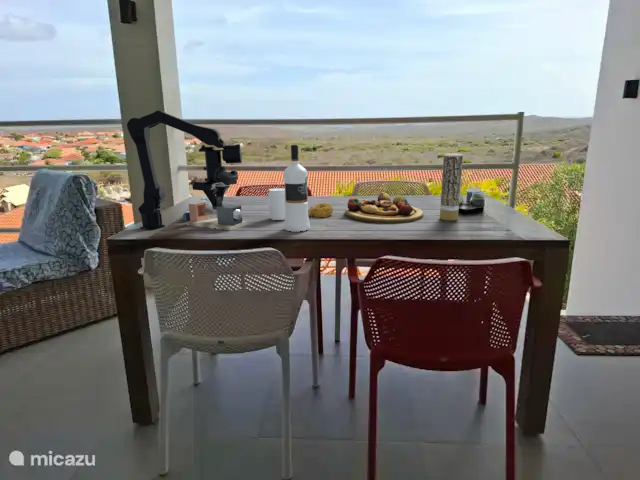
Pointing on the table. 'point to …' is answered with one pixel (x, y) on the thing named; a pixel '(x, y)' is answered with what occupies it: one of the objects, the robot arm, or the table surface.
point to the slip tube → (213, 210)
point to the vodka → (296, 195)
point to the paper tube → (451, 186)
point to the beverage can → (276, 203)
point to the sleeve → (228, 215)
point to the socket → (197, 211)
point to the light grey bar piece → (187, 214)
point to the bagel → (321, 210)
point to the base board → (215, 224)
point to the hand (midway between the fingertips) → (217, 205)
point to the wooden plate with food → (383, 210)
